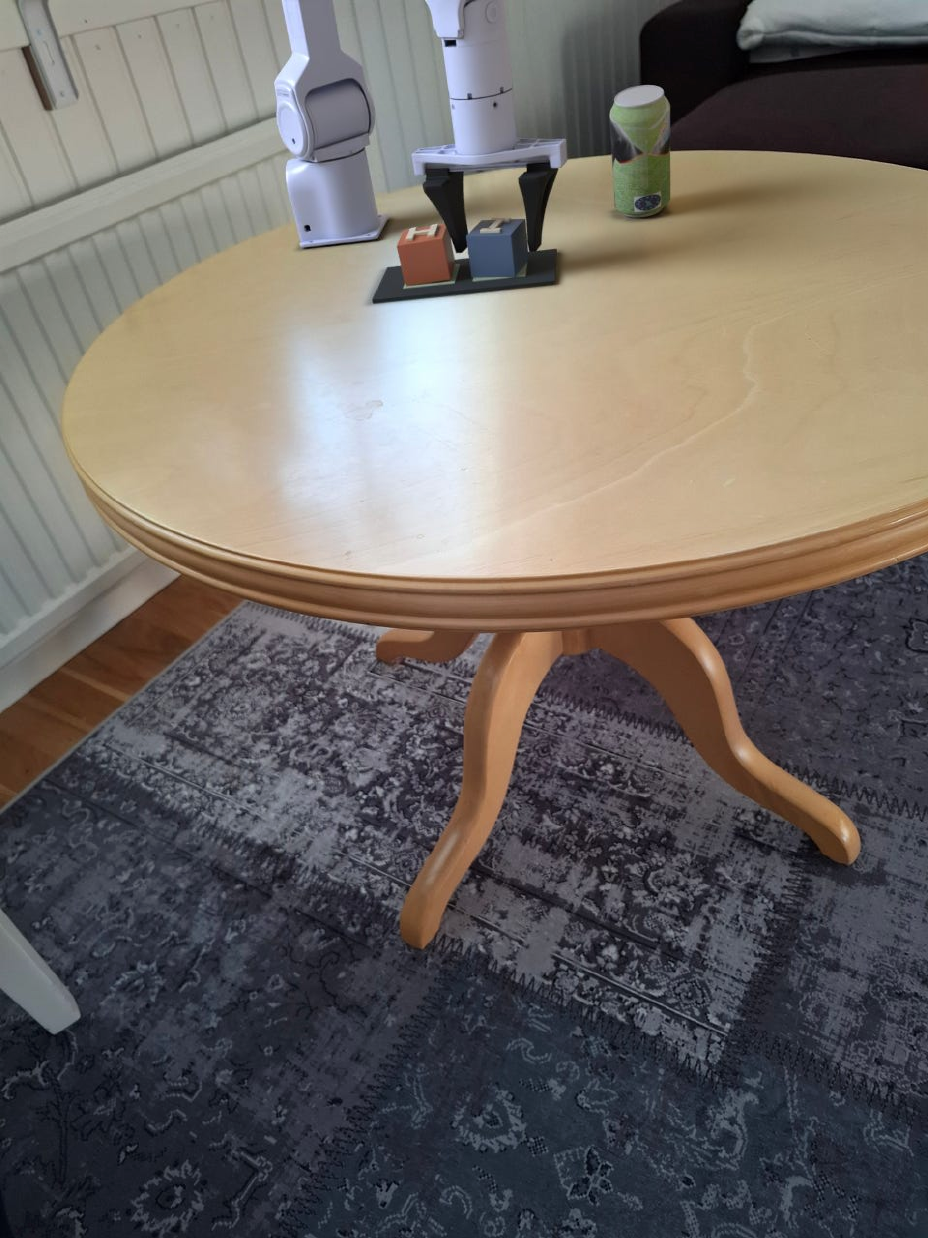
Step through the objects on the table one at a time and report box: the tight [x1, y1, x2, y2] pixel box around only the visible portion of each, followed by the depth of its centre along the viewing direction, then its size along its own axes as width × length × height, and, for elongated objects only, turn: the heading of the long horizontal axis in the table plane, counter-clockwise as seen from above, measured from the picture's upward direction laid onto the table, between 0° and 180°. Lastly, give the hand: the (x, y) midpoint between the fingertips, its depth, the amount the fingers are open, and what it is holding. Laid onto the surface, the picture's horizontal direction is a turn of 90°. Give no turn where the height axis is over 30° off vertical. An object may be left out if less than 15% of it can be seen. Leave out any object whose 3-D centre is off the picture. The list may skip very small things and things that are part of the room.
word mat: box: [371, 248, 558, 304], centre depth 89 cm, size 18×9×1 cm, turn 84°
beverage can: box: [608, 84, 671, 219], centre depth 93 cm, size 6×7×12 cm
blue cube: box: [466, 217, 529, 277], centre depth 87 cm, size 5×5×4 cm
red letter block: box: [396, 223, 456, 286], centre depth 88 cm, size 5×5×4 cm
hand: (498, 248), depth 87 cm, fingers open, 7 cm apart
